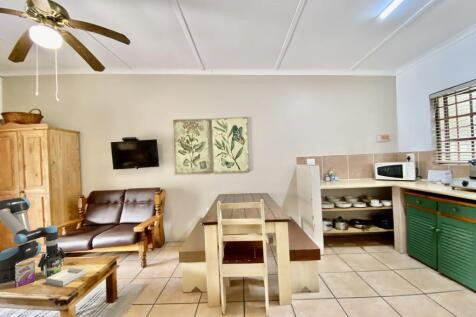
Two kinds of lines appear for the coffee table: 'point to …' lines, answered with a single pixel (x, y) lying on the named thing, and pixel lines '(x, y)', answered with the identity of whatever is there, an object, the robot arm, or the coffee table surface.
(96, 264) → the coffee table surface
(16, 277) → the candy bar box
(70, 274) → the tote
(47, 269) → the coffee can
